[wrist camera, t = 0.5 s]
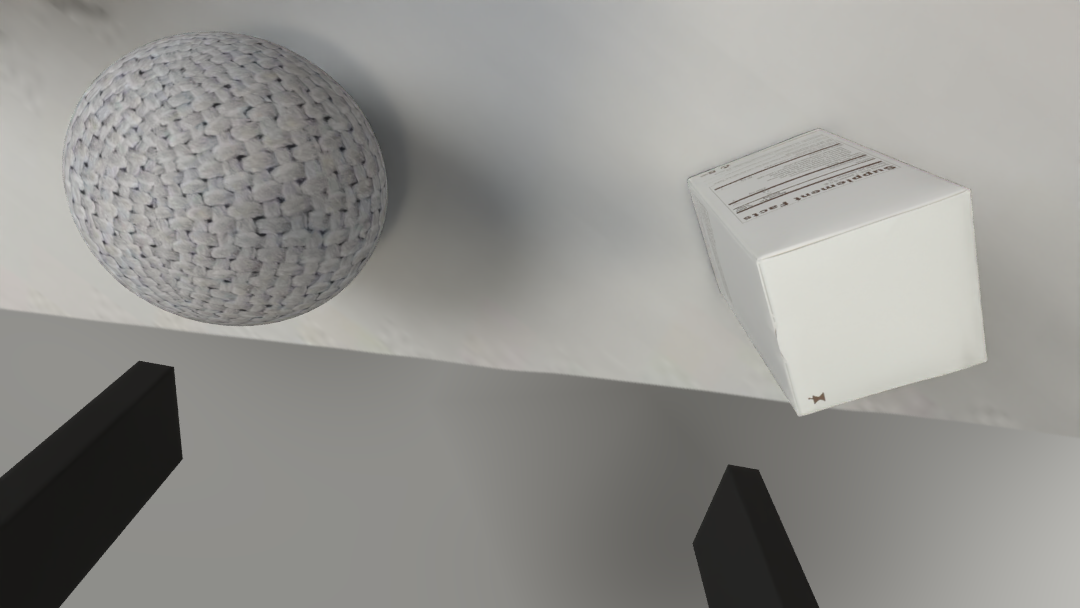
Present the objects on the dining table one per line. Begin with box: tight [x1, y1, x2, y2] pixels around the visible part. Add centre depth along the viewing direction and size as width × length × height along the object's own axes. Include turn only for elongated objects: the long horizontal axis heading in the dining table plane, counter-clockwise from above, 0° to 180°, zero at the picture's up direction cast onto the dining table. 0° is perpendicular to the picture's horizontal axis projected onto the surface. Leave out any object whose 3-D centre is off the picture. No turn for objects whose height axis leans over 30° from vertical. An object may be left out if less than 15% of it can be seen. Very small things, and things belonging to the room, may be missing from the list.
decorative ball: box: [62, 32, 388, 326], centre depth 31 cm, size 15×15×15 cm
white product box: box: [687, 129, 987, 416], centre depth 32 cm, size 9×9×15 cm
